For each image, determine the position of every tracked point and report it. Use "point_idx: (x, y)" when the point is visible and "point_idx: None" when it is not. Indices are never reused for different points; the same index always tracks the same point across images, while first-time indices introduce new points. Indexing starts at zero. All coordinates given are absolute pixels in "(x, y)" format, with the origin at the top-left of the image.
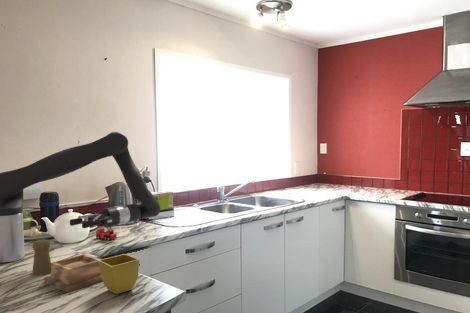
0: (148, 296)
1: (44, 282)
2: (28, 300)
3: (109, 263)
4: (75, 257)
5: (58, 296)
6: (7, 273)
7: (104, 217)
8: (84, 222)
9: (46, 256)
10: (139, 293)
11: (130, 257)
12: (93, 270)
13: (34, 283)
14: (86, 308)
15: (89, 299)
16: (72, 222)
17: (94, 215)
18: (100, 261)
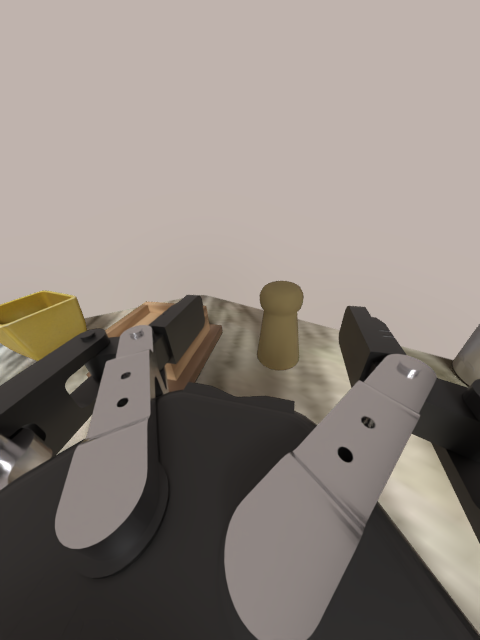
0: (4, 352)
1: (221, 332)
2: None
3: (57, 315)
4: None
5: None
6: (336, 332)
7: (19, 478)
8: (186, 299)
9: (262, 323)
10: (20, 355)
11: None
12: None
13: (235, 326)
14: (105, 314)
15: (109, 324)
16: (344, 327)
17: (277, 474)
18: (69, 295)
